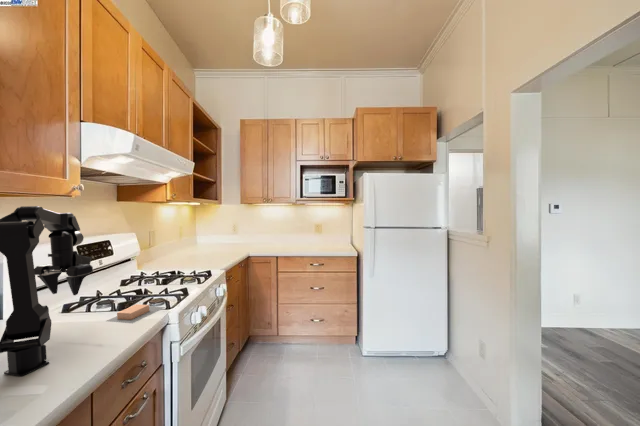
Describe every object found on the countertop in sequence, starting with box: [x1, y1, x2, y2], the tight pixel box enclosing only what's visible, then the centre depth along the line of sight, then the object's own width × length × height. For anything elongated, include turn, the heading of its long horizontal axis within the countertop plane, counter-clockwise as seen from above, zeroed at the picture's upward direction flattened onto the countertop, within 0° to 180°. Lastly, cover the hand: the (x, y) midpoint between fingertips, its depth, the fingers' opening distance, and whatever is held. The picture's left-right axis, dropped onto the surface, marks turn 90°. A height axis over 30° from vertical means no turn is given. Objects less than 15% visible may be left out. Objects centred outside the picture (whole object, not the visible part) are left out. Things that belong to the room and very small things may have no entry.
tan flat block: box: [116, 303, 150, 320], centre depth 113 cm, size 2×6×9 cm
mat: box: [106, 305, 166, 324], centre depth 114 cm, size 16×12×1 cm
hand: (65, 294), depth 100 cm, fingers open, 9 cm apart
